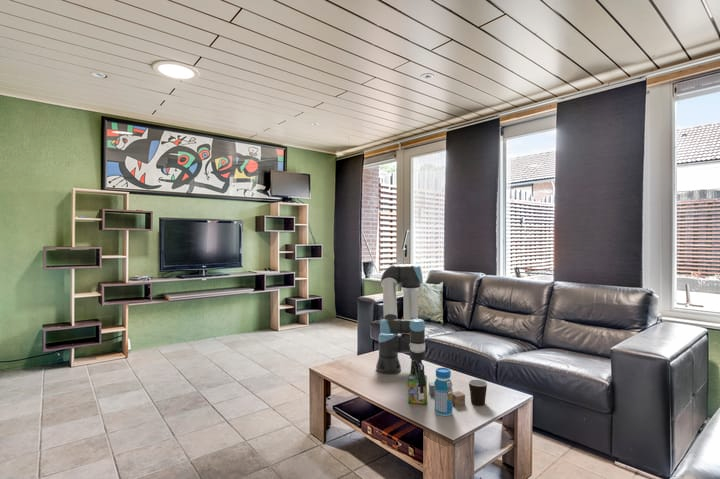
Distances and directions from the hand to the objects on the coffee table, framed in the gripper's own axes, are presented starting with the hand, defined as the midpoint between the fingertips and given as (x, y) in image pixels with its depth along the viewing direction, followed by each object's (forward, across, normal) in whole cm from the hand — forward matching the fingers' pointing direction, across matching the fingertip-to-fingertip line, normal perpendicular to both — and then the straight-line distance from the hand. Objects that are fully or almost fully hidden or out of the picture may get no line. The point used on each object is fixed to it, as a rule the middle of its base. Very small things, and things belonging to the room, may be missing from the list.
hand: (417, 394), depth 193 cm
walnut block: (+3, +7, +18) cm, 20 cm away
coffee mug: (+3, +7, +29) cm, 30 cm away
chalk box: (+3, 0, 0) cm, 3 cm away
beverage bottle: (+3, +15, +8) cm, 17 cm away
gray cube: (+3, -7, +11) cm, 13 cm away
